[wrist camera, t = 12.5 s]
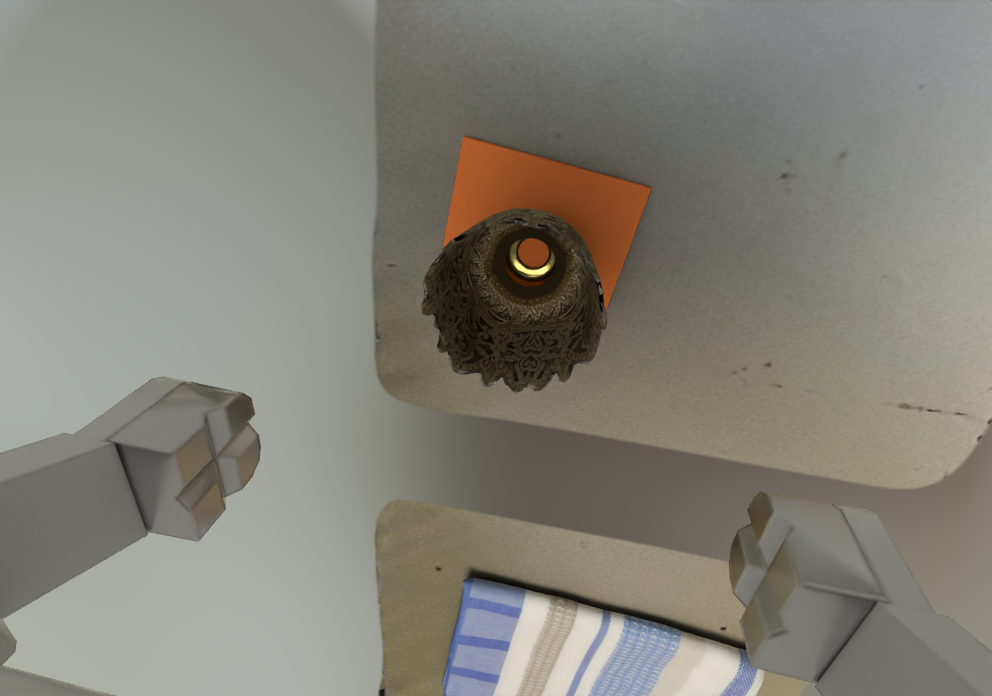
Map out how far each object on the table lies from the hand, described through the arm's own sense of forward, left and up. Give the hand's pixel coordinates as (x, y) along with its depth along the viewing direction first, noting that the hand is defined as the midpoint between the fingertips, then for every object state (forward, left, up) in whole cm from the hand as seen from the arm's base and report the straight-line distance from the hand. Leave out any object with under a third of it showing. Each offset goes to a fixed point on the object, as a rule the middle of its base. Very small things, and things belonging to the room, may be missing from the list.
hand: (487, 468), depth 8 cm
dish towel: (+35, -17, -21) cm, 44 cm away
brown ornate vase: (+2, -3, -21) cm, 21 cm away
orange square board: (+2, -3, -21) cm, 21 cm away
